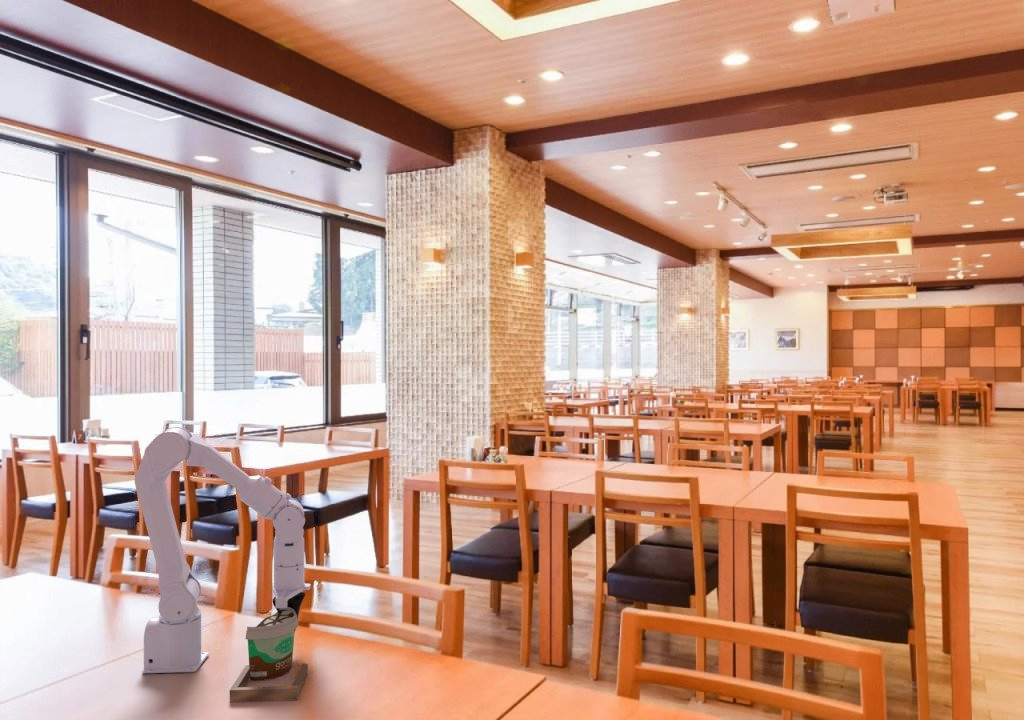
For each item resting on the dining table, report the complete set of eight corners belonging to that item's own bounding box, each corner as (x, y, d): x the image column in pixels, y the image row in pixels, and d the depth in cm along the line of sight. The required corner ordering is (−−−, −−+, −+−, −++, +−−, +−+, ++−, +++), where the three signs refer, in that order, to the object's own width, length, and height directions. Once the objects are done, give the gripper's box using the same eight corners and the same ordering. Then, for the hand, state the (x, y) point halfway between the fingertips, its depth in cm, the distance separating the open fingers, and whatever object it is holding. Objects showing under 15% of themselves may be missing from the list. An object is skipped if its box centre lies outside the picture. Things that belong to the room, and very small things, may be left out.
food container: (277, 687, 132) (277, 630, 132) (245, 684, 134) (245, 627, 134) (310, 659, 145) (310, 606, 144) (281, 656, 146) (281, 604, 146)
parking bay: (229, 702, 127) (229, 690, 127) (245, 676, 137) (245, 665, 137) (296, 700, 128) (296, 688, 128) (307, 674, 138) (307, 663, 138)
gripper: (302, 573, 140) (303, 646, 141) (316, 552, 155) (316, 618, 155) (263, 574, 140) (264, 647, 140) (281, 553, 154) (281, 619, 154)
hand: (289, 632), depth 147 cm, fingers closed
